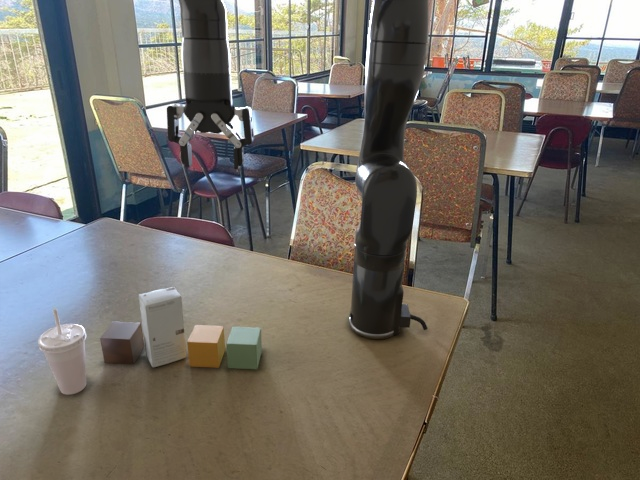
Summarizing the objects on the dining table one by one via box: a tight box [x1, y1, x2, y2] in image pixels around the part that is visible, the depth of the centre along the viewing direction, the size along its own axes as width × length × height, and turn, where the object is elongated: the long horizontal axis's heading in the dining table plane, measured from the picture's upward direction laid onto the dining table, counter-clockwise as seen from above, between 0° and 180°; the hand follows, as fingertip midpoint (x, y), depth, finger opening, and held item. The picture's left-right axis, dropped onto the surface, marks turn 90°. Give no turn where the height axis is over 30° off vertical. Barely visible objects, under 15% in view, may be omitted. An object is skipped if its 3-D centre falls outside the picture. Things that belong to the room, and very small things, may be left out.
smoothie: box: [37, 307, 87, 396], centre depth 73 cm, size 6×6×14 cm
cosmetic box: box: [138, 286, 188, 368], centre depth 81 cm, size 6×4×12 cm
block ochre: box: [186, 324, 226, 369], centre depth 82 cm, size 5×5×5 cm
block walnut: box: [99, 321, 145, 365], centre depth 82 cm, size 5×5×5 cm
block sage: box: [225, 326, 263, 370], centre depth 82 cm, size 5×5×5 cm
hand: (213, 167), depth 84 cm, fingers open, 8 cm apart
